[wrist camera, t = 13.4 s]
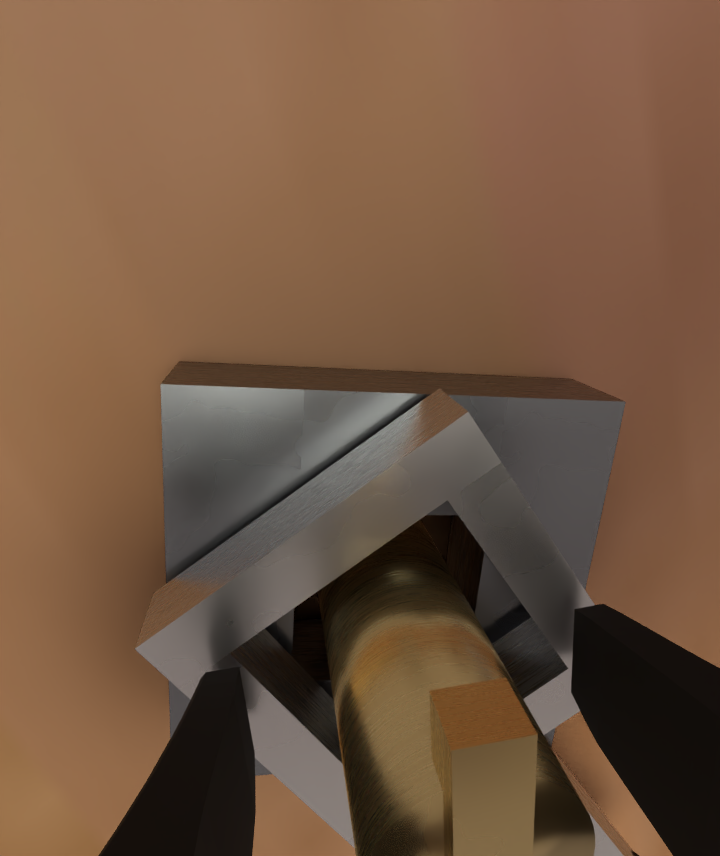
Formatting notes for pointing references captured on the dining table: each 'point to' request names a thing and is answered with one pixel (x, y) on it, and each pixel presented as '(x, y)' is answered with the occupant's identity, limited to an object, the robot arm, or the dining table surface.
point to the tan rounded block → (436, 720)
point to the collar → (338, 552)
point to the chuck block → (347, 429)
